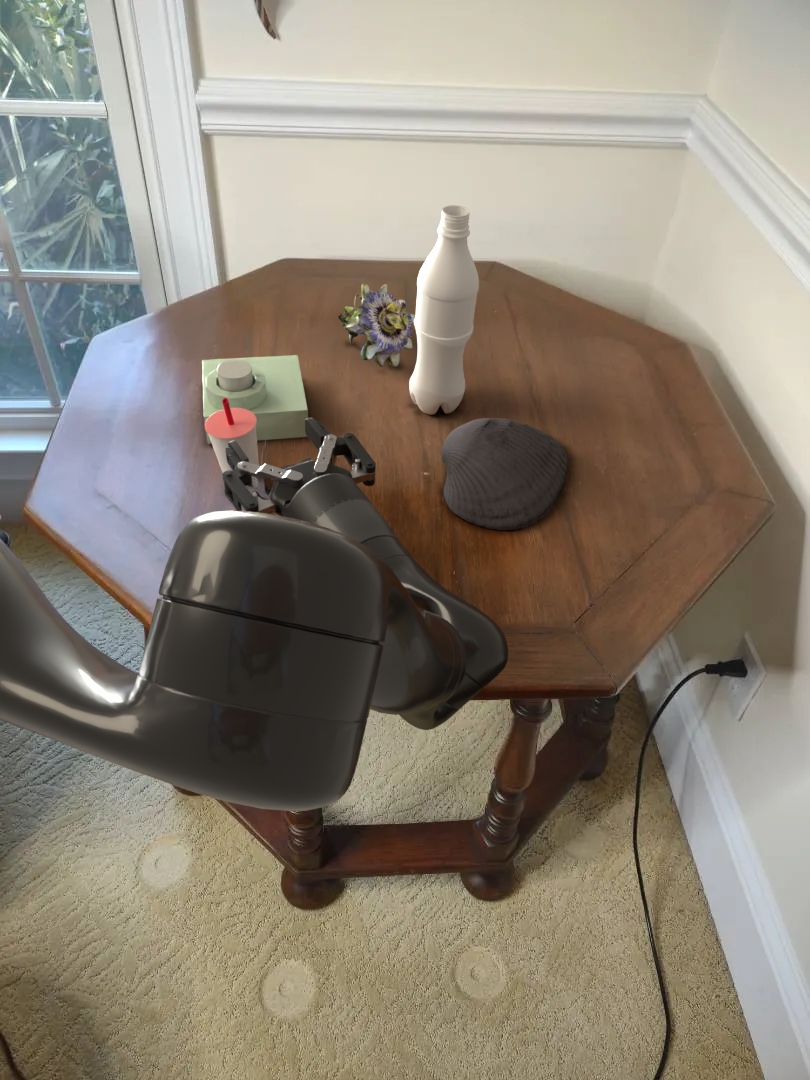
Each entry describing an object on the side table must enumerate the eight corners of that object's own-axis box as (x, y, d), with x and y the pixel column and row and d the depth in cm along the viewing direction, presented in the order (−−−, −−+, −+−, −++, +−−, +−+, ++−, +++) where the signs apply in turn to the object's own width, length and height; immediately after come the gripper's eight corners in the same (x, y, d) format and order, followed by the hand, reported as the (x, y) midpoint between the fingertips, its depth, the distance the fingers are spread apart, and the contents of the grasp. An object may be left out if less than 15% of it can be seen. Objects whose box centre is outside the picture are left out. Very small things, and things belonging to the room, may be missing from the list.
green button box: (207, 444, 91) (201, 402, 87) (206, 386, 99) (200, 345, 95) (308, 436, 93) (307, 395, 89) (298, 381, 102) (297, 341, 97)
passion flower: (390, 396, 110) (380, 364, 98) (328, 360, 111) (310, 324, 100) (432, 331, 111) (426, 292, 99) (369, 297, 112) (356, 254, 101)
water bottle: (470, 397, 101) (498, 206, 84) (450, 426, 97) (474, 230, 79) (421, 382, 103) (438, 192, 85) (398, 409, 98) (411, 214, 81)
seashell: (410, 508, 89) (408, 458, 83) (491, 415, 99) (496, 365, 93) (518, 560, 84) (525, 511, 78) (593, 457, 94) (604, 407, 88)
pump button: (219, 394, 89) (217, 379, 88) (218, 375, 92) (216, 360, 90) (254, 392, 90) (252, 377, 88) (252, 373, 92) (250, 358, 91)
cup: (241, 510, 83) (221, 419, 75) (210, 489, 86) (187, 399, 78) (278, 485, 86) (262, 396, 78) (247, 466, 89) (229, 377, 80)
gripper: (413, 479, 70) (331, 388, 80) (270, 530, 65) (199, 425, 74) (408, 537, 76) (331, 445, 85) (275, 588, 70) (209, 484, 79)
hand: (270, 436), depth 80 cm, fingers open, 8 cm apart
